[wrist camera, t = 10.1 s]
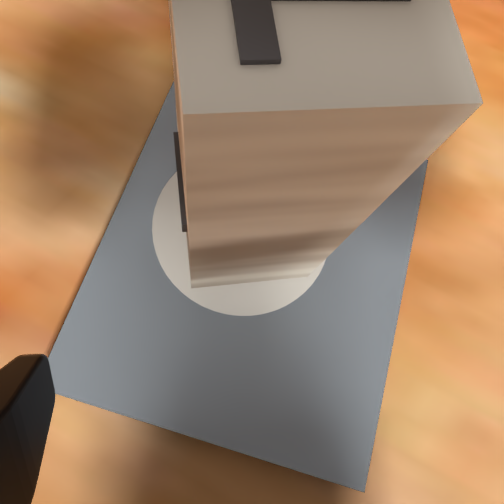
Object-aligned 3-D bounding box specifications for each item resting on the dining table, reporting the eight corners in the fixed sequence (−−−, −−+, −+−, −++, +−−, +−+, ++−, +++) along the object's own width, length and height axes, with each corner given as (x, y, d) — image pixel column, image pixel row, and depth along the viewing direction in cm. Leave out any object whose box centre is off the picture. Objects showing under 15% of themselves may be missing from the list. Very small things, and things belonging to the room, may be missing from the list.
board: (354, 486, 16) (365, 493, 15) (44, 386, 16) (33, 387, 15) (417, 170, 20) (429, 159, 19) (177, 88, 20) (176, 72, 19)
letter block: (307, 276, 17) (487, 98, 7) (187, 288, 16) (172, 110, 6) (289, 172, 18) (415, -116, 8) (177, 179, 18) (150, -129, 7)
